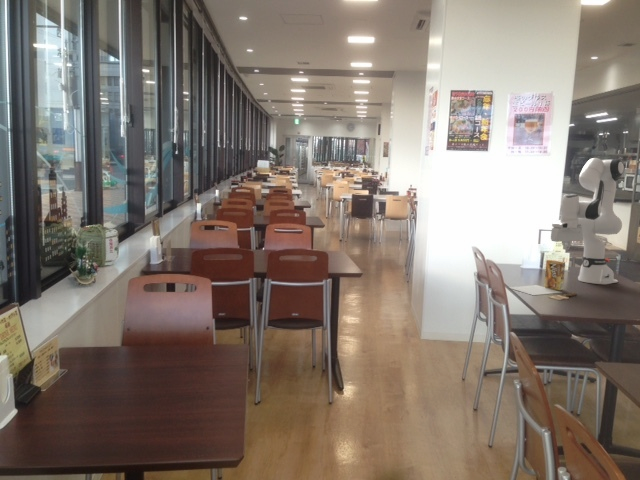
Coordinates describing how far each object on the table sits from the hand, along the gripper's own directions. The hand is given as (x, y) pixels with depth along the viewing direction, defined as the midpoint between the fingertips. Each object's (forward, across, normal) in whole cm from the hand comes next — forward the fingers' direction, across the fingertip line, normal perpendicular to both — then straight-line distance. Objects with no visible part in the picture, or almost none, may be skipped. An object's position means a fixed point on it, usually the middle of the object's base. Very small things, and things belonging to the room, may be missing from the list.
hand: (566, 249), depth 317 cm
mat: (+22, +19, 0) cm, 29 cm away
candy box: (+22, +6, 0) cm, 22 cm away
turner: (+22, +16, +17) cm, 32 cm away
